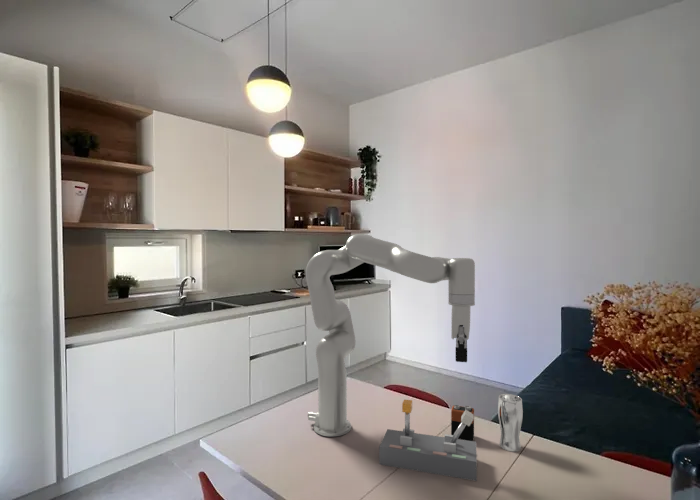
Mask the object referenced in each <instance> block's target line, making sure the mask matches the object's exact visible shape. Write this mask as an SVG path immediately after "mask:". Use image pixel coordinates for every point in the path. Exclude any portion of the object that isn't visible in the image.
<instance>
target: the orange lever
mask: <svg viewBox="0 0 700 500" xmlns="http://www.w3.org/2000/svg"><path fill="white" fill-rule="evenodd" d="M401 405H402V406H401V407H402V409H401V410H402V411H401V413H404V428H405V436H408V437H410V429H411V413H412V410H413V400H412V399H404V400H403V401H402V404H401Z"/></svg>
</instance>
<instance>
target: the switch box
mask: <svg viewBox="0 0 700 500" xmlns="http://www.w3.org/2000/svg"><path fill="white" fill-rule="evenodd" d="M452 436H453V435H451V434H446V433H445V434H444V436H437V435H431V434H424V433H418V432H415V429H412V428H410V437H408V436H405V427H404V428H402V430H396V429H388V428H387V430H386V431H385V434H384V436H383V438H382V440H381V443H380V444H379V448H378V449H379V453H378V454H379V457H378V458H379V463H378V464H379V465H382V466H387V467H393V468H399V469H405V470H411V471H418V472H422V473H428V474H433V475H440V476H445V477H452V478H456V479H457V478H458V479H464V480H469V481H474V482H475V481H476V482H477V480H478V479H477V478H478V477H477V473H478V472H477V471H478V470H477V467H478V466H477V465H478V464H477V462H478V460H477V459H478V458H477V441H474V440H473V441H467V440H462V439H457V440H456V442H455V443H449V441H450V439H451V438H452Z"/></svg>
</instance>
